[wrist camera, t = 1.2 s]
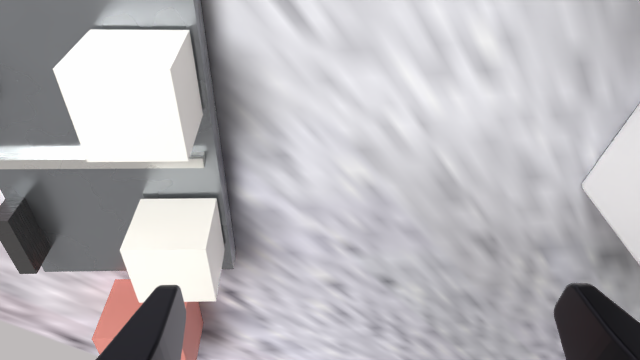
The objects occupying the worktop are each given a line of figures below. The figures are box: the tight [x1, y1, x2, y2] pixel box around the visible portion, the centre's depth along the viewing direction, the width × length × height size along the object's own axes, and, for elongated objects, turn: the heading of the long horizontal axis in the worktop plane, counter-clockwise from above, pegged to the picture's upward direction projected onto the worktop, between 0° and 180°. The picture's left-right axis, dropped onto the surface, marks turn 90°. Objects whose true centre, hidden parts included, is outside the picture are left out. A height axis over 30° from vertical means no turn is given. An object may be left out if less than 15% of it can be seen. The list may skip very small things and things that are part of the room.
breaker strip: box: [0, 0, 236, 274], centre depth 20 cm, size 10×15×3 cm, turn 179°
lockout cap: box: [92, 279, 203, 360], centre depth 27 cm, size 4×4×5 cm
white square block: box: [53, 29, 203, 162], centre depth 16 cm, size 4×4×3 cm
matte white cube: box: [120, 198, 225, 303], centre depth 21 cm, size 4×4×3 cm
